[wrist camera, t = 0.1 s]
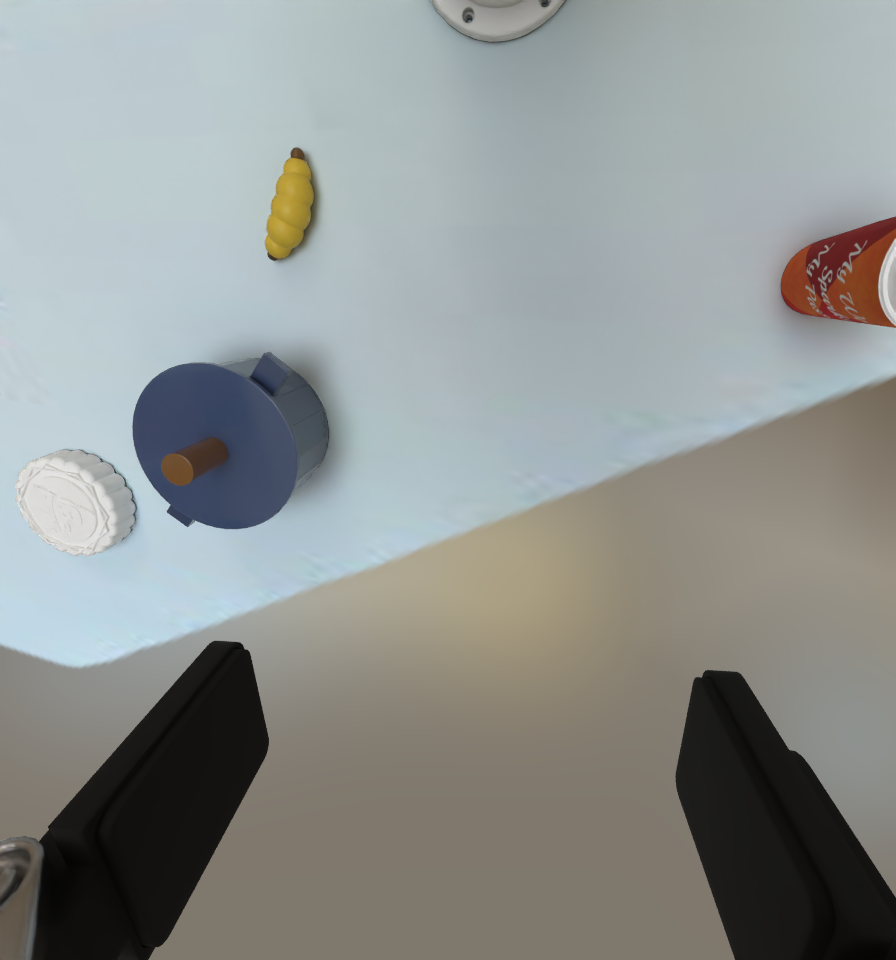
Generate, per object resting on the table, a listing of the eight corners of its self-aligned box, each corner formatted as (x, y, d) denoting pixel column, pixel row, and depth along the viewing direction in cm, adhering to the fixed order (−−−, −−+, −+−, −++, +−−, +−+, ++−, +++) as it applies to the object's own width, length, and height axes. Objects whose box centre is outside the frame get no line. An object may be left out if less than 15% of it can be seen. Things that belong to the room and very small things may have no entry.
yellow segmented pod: (301, 272, 43) (286, 270, 40) (268, 257, 43) (250, 253, 40) (332, 165, 40) (317, 154, 37) (296, 148, 39) (279, 135, 36)
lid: (116, 455, 43) (58, 477, 37) (187, 322, 38) (131, 326, 32) (251, 552, 45) (214, 588, 39) (335, 439, 40) (306, 461, 34)
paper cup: (751, 264, 38) (875, 244, 25) (851, 203, 36) (1044, 146, 23) (787, 347, 40) (921, 368, 27) (885, 293, 38) (1083, 287, 25)
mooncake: (34, 516, 56) (4, 530, 53) (46, 430, 52) (14, 439, 49) (127, 560, 57) (103, 576, 54) (146, 478, 52) (121, 490, 49)
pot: (170, 450, 51) (108, 477, 43) (255, 305, 44) (200, 306, 36) (273, 526, 53) (232, 566, 45) (369, 398, 46) (340, 417, 38)
